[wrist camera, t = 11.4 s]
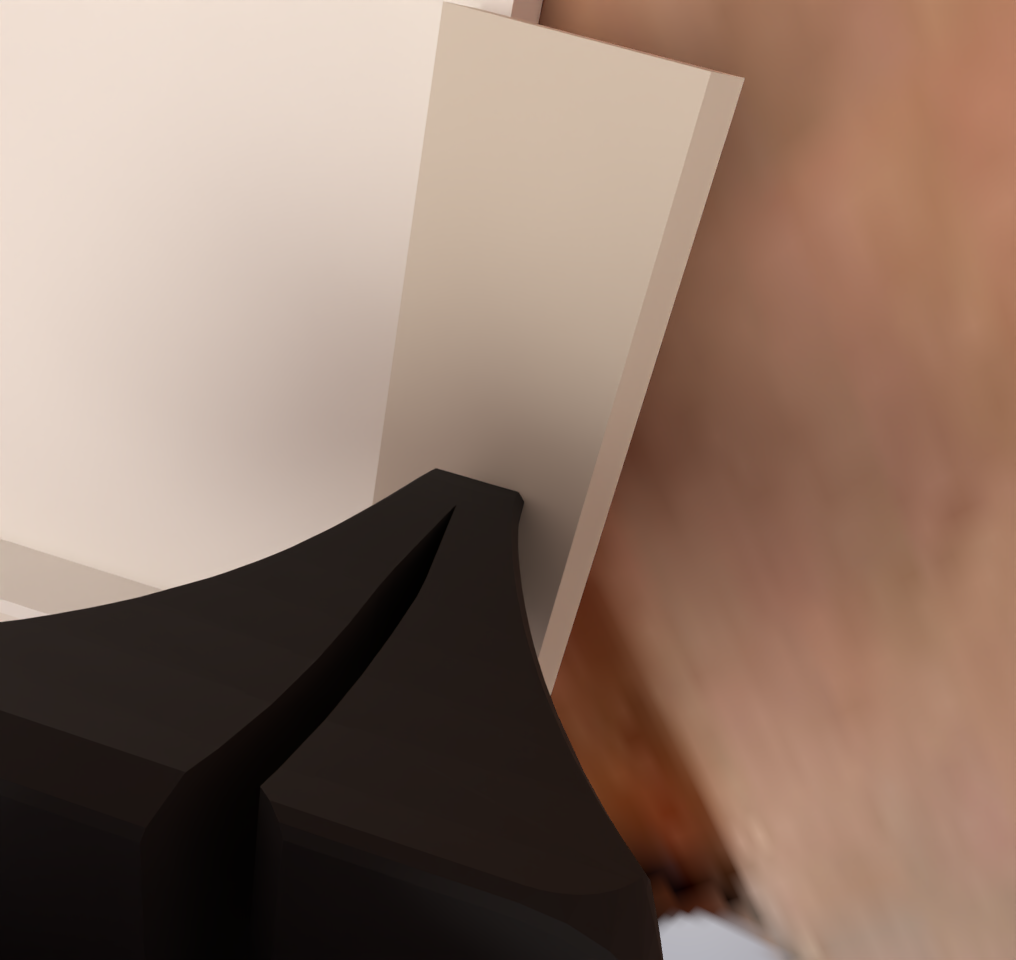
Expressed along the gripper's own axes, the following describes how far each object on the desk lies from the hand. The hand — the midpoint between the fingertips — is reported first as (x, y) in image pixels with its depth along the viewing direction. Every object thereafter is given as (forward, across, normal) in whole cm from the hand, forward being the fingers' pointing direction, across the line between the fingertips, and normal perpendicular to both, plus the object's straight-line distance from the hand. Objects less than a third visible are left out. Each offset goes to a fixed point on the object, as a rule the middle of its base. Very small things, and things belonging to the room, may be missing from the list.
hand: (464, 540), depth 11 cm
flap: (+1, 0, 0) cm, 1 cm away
